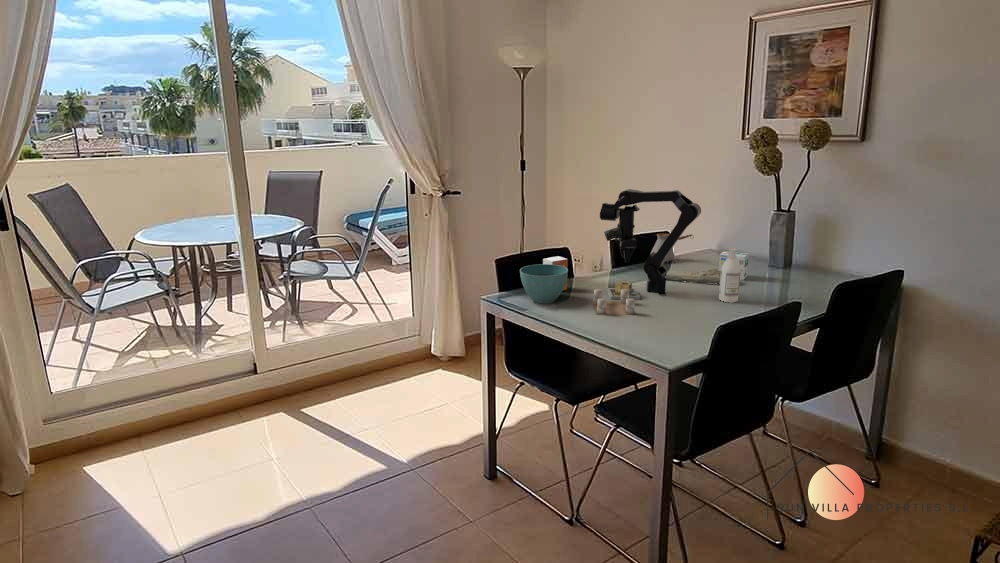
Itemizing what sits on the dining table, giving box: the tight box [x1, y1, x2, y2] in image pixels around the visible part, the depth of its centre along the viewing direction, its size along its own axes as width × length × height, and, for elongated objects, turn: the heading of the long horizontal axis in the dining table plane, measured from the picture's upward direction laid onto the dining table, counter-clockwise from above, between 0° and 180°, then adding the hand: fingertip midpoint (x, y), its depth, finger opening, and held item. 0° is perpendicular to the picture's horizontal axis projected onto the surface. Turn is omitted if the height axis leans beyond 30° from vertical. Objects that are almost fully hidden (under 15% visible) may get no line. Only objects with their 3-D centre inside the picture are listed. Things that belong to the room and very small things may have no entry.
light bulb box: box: [718, 251, 749, 280], centre depth 266 cm, size 11×7×11 cm, turn 58°
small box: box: [542, 255, 569, 291], centre depth 251 cm, size 8×6×13 cm
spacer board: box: [591, 288, 637, 316], centre depth 225 cm, size 14×16×6 cm
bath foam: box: [718, 247, 741, 303], centre depth 233 cm, size 7×7×20 cm
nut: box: [614, 281, 633, 296], centre depth 241 cm, size 6×6×5 cm
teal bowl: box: [519, 263, 569, 304], centre depth 237 cm, size 18×18×12 cm
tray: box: [606, 287, 641, 301], centre depth 241 cm, size 11×11×2 cm
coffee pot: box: [649, 232, 694, 264], centre depth 293 cm, size 21×12×15 cm, turn 42°
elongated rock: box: [665, 268, 721, 285], centre depth 263 cm, size 35×5×10 cm
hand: (624, 260), depth 250 cm, fingers open, 9 cm apart
